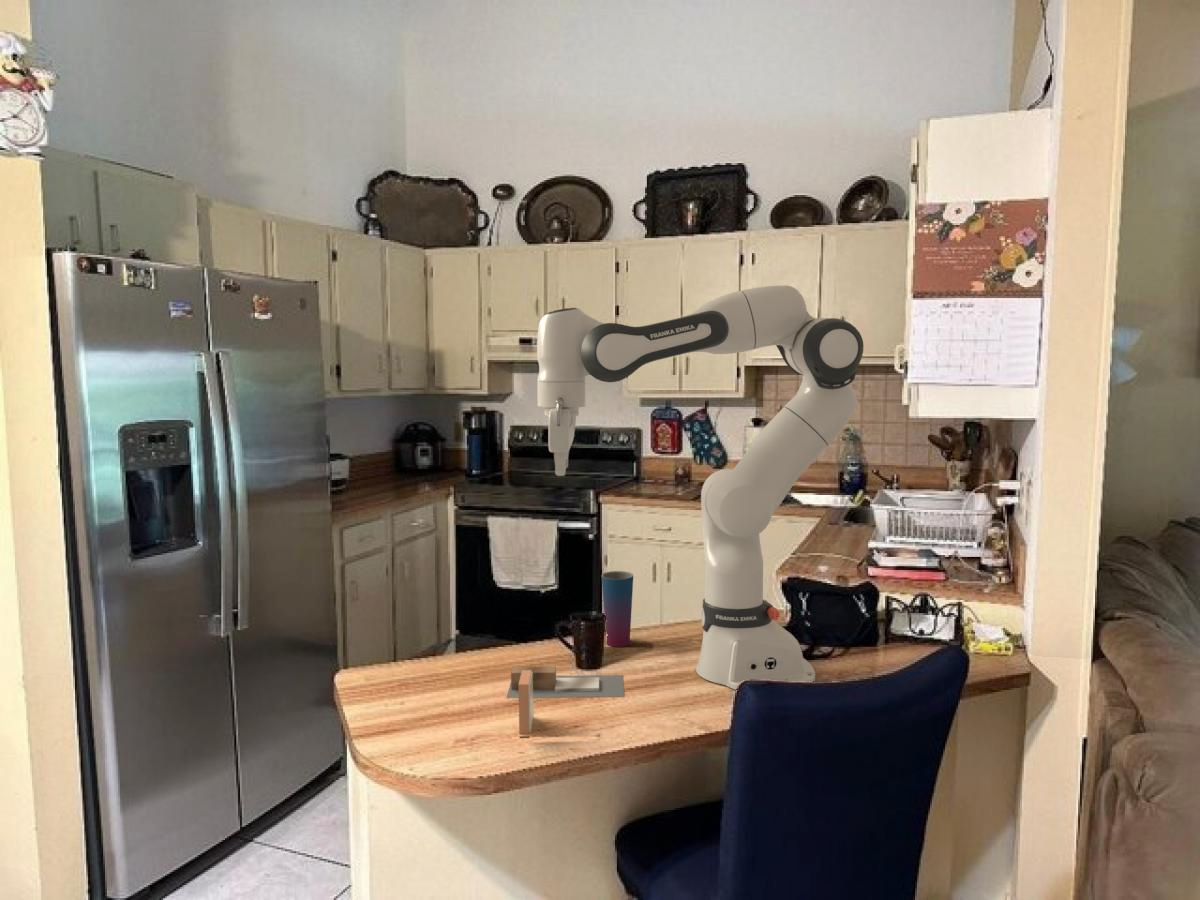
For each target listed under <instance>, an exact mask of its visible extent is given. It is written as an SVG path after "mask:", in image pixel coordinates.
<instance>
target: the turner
mask: <svg viewBox="0 0 1200 900" xmlns="http://www.w3.org/2000/svg"><path fill="white" fill-rule="evenodd" d="M511 668H512V669H511V673H510V684H511V690H518V684H519V680H520V676H521V672H522V670H532V672H533V690H551V689H555V692H572V691H599V677H591V678H556V676H557V667H556V666H552V665H551V666H547V665H546V666H512V667H511Z"/></svg>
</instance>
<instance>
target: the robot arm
mask: <svg viewBox="0 0 1200 900" xmlns="http://www.w3.org/2000/svg"><path fill="white" fill-rule="evenodd" d="M800 292H801V291H799V290H798V289H797V288H795V287H793V286H792V285H791V286H790V285H769V286H761V287H754V288H753V287H752V288H748V289H743V290H739V291H735V292H731V293H728V294H725V295H724V294H723V295H722V296H719V297H717V298H714V299H713V300H710V301H708V302H706V303H704V304H702V305H701V306H700V307H699V308H697V309H696V310H694V311H692V312H691V313H689V314H687V315H684V316H681V317H678V318H674V319H673V318H672V319H669V320H665V321H660V322H656V323H652V324H651V323H650V324H647V325H642V326H631V325H626V324H621V323H616V322H607V323H603V322H602V321H599V320H597V319H595V318H593V317H591V316H589V315H588V314H587V313H585V312H583V311H582V310H581V309H580V308H577V307H569V308H568V307H567V308H561V309H555V310H553V311H549V312H547V313H545V314H544V315H543V316H542V317H541V319H540V320H539V324H538V328H537V336H536V337H537V338H536V340H537V342H536V359H537V363H538V367H539V371H538V375H537V379H536V381H537V384H536V385H537V387H536V389H537V407H538V408H543V409H544V416H545V417H548V438H547V439H548V451H549V452H550V453H553V458H554V466H555V467H554V468H555V469H554V473H555V476H558V477H561V476H562V477H563V476H565V475H566V472H567V471H566V469H568V467H569V455H570V449H571V446H572V445H573V442H574V438H575V433H576V432H575V431H576V421H577V417H578V416H579V415H580V414H579V408H584V407H586V378H587V376H592V377H593V378H594V379H595V380H598V381H601V382H604V383H617V382H620V381H623V380H624V379H626V378H628V377H630V376H631V375H632V374H633V373H635V372H636V371H637V370H638V369H640V368H641V367H642V366H644V365H646V364H650V363H653V362H657V361H660V360H664V359H668V358H671V357H672V358H673V357H676V356H680V355H684V354H688V353H699V352H700V353H708V354H713V355H728V354H737V353H738V354H739V353H743V352H749V351H752V350H753V351H754V350H757V349H761V348H764V347H765V348H766V347H770V346H776V347H777V349H778V351H779V353H780V355H781V357H782V359H783V361H784V362H785V365H786V366H787V367H788V368H789V369H790V370H791V371H793V373H796V374H798V375H801V376H802V381H801V384H800V387H799V389H798V391H797V392H796V393H795V396H793V397H792V398H791V399H790V400H789V401H788V402H787V403H786V404H785V405H784V406H783V407H782V408H781V409H780V411H779V412H777V414H775V416H774V417H773V418H772V419H771V420H770V421H768V423H767V424H766V425H765V426H764V427H763V428H762V429H761V430H760V431H759V432H758V434H757V435H755V437H754V438H753V441H752V442H751V443H750V444H751V445H750V446H749V447H748V449H746V452H745V453H744V454H743V456H742V457H741V458H740V460H739V461H738V462H737V464H736V465H735V467H734V468H724V469H720V470H717V471H715V472H713V473H711V474H710V475H709V476H708V477H707V478H706V480H705V481H704V482H703V485H702V488H701V492H700V503H701V505H700V506H701V525H702V539H703V540H702V541H703V552H704V553H703V554H704V598H703V599H702V606H701V625H702V629H703V632H702V633H703V634H702V642H701V647H700V653H699V658H698V661H697V664H696V667H695V671H696V674H698V675H699V676H700V677H701V678H703V679H704V680H707V681H708V682H709V681H710V682H712V683H714V684H719V685H723V686H727V687H728V688H731V689H733V690H735V691H737V690H736V688H737V686H738V684H739V683H740V682H741V681H743V680H747V679H770V680H785V681H814V682H815V681H816V671H815V669H814V667H813V665H812V664H811V663H810V662H809V661H808V660H807V659H805V658H804V656H803V652H802V648H801V645H800V643H799V641H798V639H796V638H795V637H796V636H794V635H793V634H792V633H791V632H789V631H787V630H786V629H785V628H784V627H782V626H781V625H780V624H778V623H777V620H779V618H780V616H781V613H780V612H779V610H778V609H777V607H774V606H773V604H771V603H769V602H768V600H767V599H764V559H763V553H762V548H761V537H760V534H761V533H762V532H763V531H765V529H766V528H767V527H768V525H769V524H770V521H771V520H772V517H773V515H774V514H775V512H776V511H777V510H778V508H779V506H780V505H781V504H782V502H783V501H785V500H784V499H785V498H786V497H787V495H788V493H789V492H790V491H791V489H792V487H794V485H795V483H796V482H797V481H798V480H799V479H800V477H801V476H802V475H803V474H804V473H805V472H806V471H807V469H808V468H809V467H810V466H811V465H812V464H814V462H815V461H816V460H817V459H818V458H819V457H820V455H822V453H823V452H824V451H825V450H826V449H827V448H828V447H829V446H830V445H831V443H833V442H834V441H835V439H836V438H837V437H838V436H839V434H840V433H841V432H842V430H843V429H844V428H845V427H846V425H847V424H848V422H849V421H850V420H851V418H852V416H853V415H854V413H855V412H856V410H857V407H858V397H857V394H856V392H855V390H854V389H853V387H852V386H851V383H853V382H854V380H855V378H856V374H857V370H858V367H859V365H860V363H861V361H862V357H863V354H864V346H865V345H864V338H863V337H862V334H861V333H860V331H859V330H858V329H857V328H856V326H854V325H853V324H852V323H851V322H848V321H846V320H845V319H841V318H835V317H834V318H833V317H831V318H829V317H820V318H816V317H813V316H812V315H810V313H809V311H808V310H807V303H806V300H805V299H804V297H803V295H802V294H801V293H800ZM848 380H849V381H848Z"/></svg>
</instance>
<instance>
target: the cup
mask: <svg viewBox="0 0 1200 900" xmlns="http://www.w3.org/2000/svg"><path fill="white" fill-rule="evenodd" d="M601 585H602V586H601V590H602V600H603V601H602V602H603V613H604V614H603V615H605V616H606V620H607V622H606V630H607V634H608V636H607V642H606V641H605V643H607V644H606V645H607V646H609V647H612V648H623V647H628V646H629V645H630V644H629V643H630V641H631V628H632V624H631V623H632V607H633V606H632V605H633V591H634V589H633V588H634V587H633V586H634V573H632V572H630V571H623V570H611V571H606V572H604V573H602V574H601Z"/></svg>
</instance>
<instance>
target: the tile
mask: <svg viewBox="0 0 1200 900" xmlns="http://www.w3.org/2000/svg"><path fill="white" fill-rule="evenodd" d="M518 690H519V698H518V727H519V728H518V729H519V730H518V732H519V734H521V735H522V734H532V729H533V722H534V716H535V715H534V698H533V672H532V670H522V672H521V676H520V680H519V684H518ZM521 735H520V736H519V739H530V738H531V736H530V735H529V736H528V735H524V736H523V735H522V736H521Z"/></svg>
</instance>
